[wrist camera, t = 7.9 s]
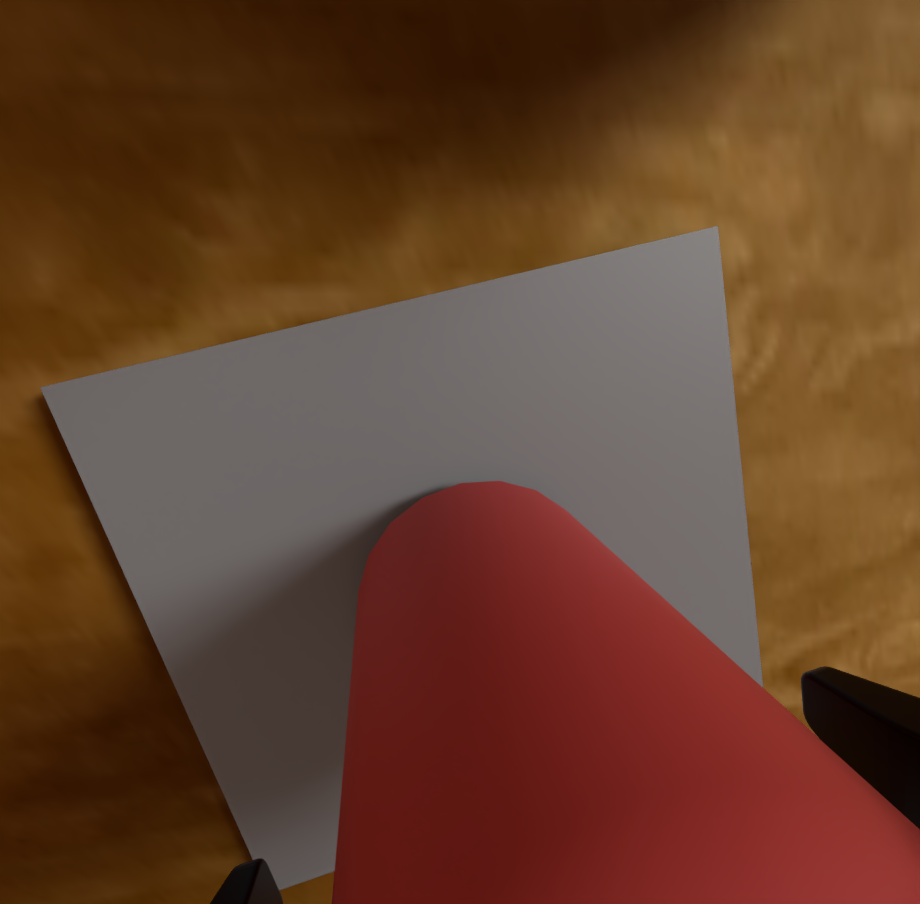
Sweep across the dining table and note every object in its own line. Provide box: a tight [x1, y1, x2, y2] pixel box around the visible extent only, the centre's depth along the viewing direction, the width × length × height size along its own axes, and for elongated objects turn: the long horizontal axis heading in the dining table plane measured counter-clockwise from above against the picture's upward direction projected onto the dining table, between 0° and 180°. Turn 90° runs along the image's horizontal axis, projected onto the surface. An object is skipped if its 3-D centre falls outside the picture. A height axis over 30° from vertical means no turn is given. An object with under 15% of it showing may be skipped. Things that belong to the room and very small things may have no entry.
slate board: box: [40, 226, 763, 890], centre depth 15 cm, size 17×16×1 cm
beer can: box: [332, 481, 920, 904], centre depth 8 cm, size 7×7×12 cm
